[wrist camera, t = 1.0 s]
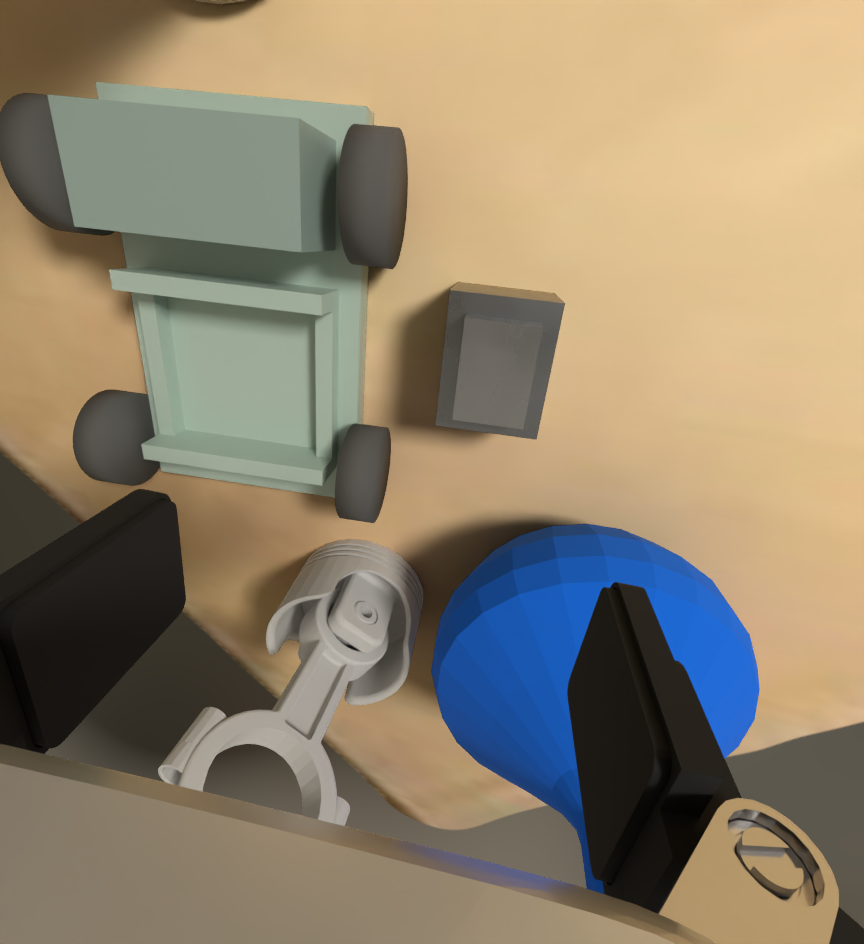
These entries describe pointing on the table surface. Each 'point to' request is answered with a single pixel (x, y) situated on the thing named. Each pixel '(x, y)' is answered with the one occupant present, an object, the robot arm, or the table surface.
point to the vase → (574, 652)
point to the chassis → (227, 276)
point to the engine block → (497, 358)
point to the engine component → (320, 668)
